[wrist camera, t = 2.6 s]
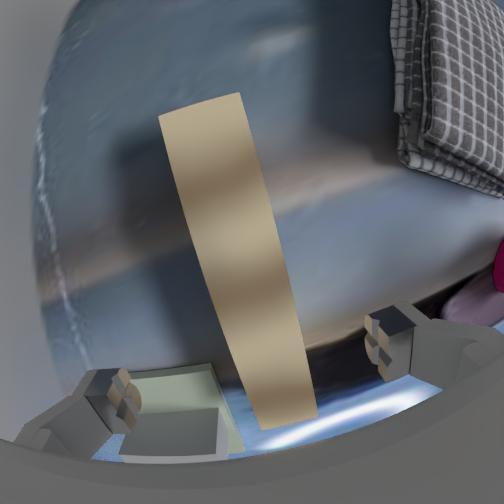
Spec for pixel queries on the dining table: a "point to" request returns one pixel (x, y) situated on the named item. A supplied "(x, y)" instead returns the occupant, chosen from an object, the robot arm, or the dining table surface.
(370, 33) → the dining table surface
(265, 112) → the dining table surface
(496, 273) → the pepper mill
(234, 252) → the beech bar
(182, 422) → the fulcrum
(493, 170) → the towel
